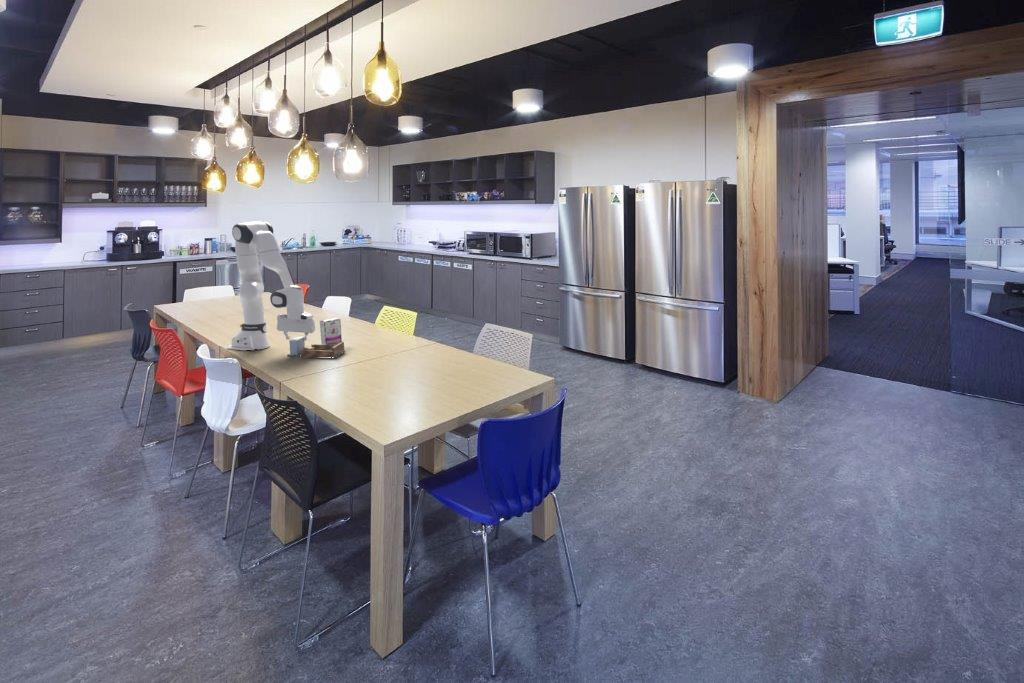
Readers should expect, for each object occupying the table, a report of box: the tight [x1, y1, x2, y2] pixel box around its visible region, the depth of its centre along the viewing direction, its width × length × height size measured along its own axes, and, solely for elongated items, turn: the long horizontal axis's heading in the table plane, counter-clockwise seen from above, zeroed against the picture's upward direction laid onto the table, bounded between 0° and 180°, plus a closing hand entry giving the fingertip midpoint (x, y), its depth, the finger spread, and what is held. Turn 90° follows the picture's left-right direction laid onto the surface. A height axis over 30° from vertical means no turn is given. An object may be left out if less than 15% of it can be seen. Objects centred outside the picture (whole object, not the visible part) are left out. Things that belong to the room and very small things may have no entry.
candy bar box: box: [319, 317, 343, 345], centre depth 337 cm, size 11×5×16 cm, turn 143°
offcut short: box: [303, 345, 314, 350], centre depth 320 cm, size 3×6×2 cm, turn 48°
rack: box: [300, 341, 345, 359], centre depth 320 cm, size 18×15×6 cm
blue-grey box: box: [288, 336, 306, 355], centre depth 321 cm, size 4×10×8 cm, turn 176°
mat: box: [287, 353, 301, 357], centre depth 322 cm, size 7×11×1 cm, turn 176°
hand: (296, 339), depth 321 cm, fingers open, 8 cm apart
